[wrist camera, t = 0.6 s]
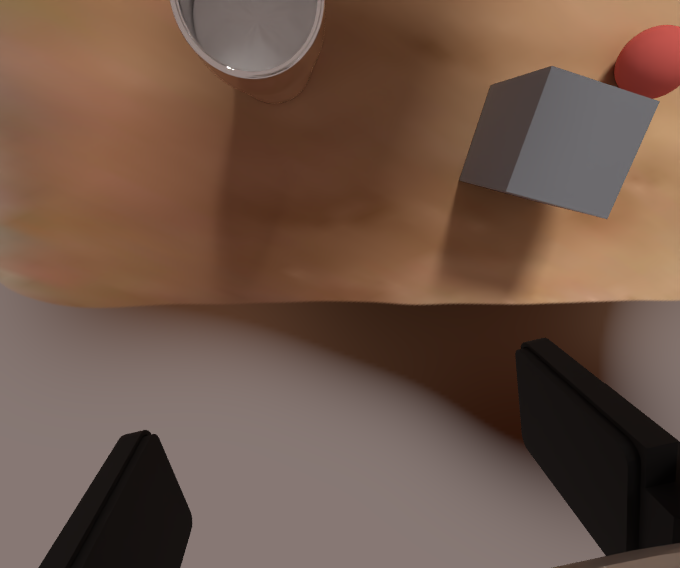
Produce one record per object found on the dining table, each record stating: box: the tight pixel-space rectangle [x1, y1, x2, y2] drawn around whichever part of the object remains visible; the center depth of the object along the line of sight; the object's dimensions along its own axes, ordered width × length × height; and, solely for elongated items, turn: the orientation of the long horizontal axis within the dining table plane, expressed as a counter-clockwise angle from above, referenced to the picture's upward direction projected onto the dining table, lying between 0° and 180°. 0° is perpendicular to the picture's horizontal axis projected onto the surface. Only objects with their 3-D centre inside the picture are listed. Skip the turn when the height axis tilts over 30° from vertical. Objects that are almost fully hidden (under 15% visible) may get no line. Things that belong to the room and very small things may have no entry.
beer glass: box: [170, 0, 326, 104], centre depth 25 cm, size 7×7×15 cm
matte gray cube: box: [459, 66, 660, 219], centre depth 31 cm, size 8×8×9 cm
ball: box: [614, 25, 680, 99], centre depth 32 cm, size 5×5×5 cm
